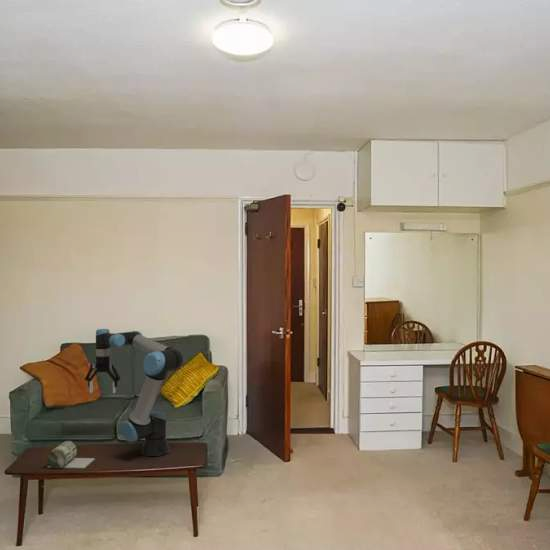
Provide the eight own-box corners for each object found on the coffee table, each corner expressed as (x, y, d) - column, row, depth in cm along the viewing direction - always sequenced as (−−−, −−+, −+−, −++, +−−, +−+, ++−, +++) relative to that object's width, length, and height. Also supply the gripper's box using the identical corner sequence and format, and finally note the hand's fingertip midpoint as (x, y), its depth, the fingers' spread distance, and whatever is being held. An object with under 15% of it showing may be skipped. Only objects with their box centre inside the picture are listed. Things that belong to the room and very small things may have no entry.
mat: (95, 459, 286) (95, 458, 286) (84, 468, 272) (84, 467, 272) (59, 458, 288) (59, 457, 288) (46, 467, 274) (46, 466, 274)
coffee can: (43, 460, 272) (55, 451, 286) (58, 472, 271) (70, 463, 285) (55, 444, 271) (67, 436, 285) (70, 457, 271) (81, 448, 285)
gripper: (78, 356, 300) (78, 393, 300) (121, 356, 298) (121, 394, 298) (84, 354, 307) (84, 391, 307) (126, 355, 306) (126, 391, 306)
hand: (102, 392), depth 303 cm, fingers open, 13 cm apart
